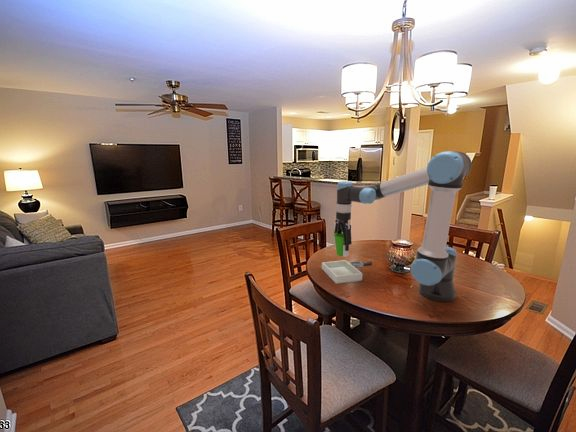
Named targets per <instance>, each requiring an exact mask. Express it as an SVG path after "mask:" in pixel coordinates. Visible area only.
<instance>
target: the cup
mask: <svg viewBox="0 0 576 432" xmlns="http://www.w3.org/2000/svg"><path fill="white" fill-rule="evenodd" d="M333 236H334V243H335V244H336V250H335V251H336V255H337V256H338V257H343V244H344V237H343V232H342V233H341V234H337V233H335V234H334V233H333ZM335 244H334V245H335Z"/></svg>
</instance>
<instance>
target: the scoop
mask: <svg viewBox="0 0 576 432" xmlns="http://www.w3.org/2000/svg"><path fill="white" fill-rule="evenodd" d="M349 263H350V264H351V265H352V266H354V267H355V268H356V269H359V268H360V269H361V268H364V266H367V265H373V261H364V262H362V261H361V260H353V261H350V262H349Z"/></svg>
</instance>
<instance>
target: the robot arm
mask: <svg viewBox="0 0 576 432" xmlns="http://www.w3.org/2000/svg"><path fill="white" fill-rule="evenodd" d="M471 170H472V159H471V157H470V156H469V155H468V154H466V153H464V152H462V151H453V150H452V151H451V150H447V151H441V152H438V153H436V154H435V155H434V156H432V157H431V158H430V159H429V161H428V163H427V166H426V167H423V168H419V169H417V170H414V171H411V172H408V173H406V174H403V175H399V176H396V177H394V178H391V179H388V180H385V181H382V182H380V183H377V184H374V185H367V186H353V182H352V181H347V180H344V181H338V182H337V188H336V208H335V210H336V212H335V225H334V231H333V235H334V234H335V233H337V234H341V233H343V237H344V244H343V256H342V257H343V258H346V257H349V255H350V254H349V253H350V250H349V249H350V245H352V225H351V224H349V221H350V220H351V218H352V217H351V216H352V212H351V211H352V206H353V205H352V203H361V204H364V205H367V204H368V205H369V204H371V205H372V204H373V203H374V201H378V200H381V199H383V198H387V197H390V196H393V195H394V196H395V195H397V194H400V193H403V192H407V191H410V190H413V189H417V188H420V187H423V186H427V187H429V189H430V190H431V191H430V197H429V204H428V208H427V216H426V220H425V221H426V222H425V226H424V231H423V233H424V234H423V238H422V244H421V246H420V247H418V248H417V251H416V257H415V260H413V262H412V263H411V266H410V272H411V275H412V277H413V278H414V279H415V280H416V282H418V283H419V285H418V286H419V287H418V292H419V294H421V295H422V296H424V297H425V298H426V299H428V300H429V299H430V300H433V301H438V302H452V301H454V300H455V299H456V295H457V294H456V290H455V285H454V284H455V283H454V274H455V267H456V259H457V257H458V256H457V250H456V249H455V248H453V247H451V246H447V242H448V237H449V231H450V227H451V222H452V217H453V210H454V205H455V200H456V195H457V192H459V191H460V190H462V189H463V183H464V179H465V177H468V175H469V174H470V172H471ZM334 245H335V251H336V244H334Z"/></svg>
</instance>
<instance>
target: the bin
mask: <svg viewBox="0 0 576 432" xmlns="http://www.w3.org/2000/svg"><path fill="white" fill-rule="evenodd" d="M321 270H322V271H323V272H324V273H325V274H326V275H327V276H328V277H329V279H330V280H331V281H332V282H333V283H334V284H335V285H339V284H347V283H353V282H354V283H355V282H362V281H363V275H364V274H363V272H361V271H360V270H359V269H358V268H355V267H354V266H352V265H351V264H350V262H349V261H348V260H345V259H343V260H334V261H333V260H332V261H326V262H325V261H324V262H321Z"/></svg>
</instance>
